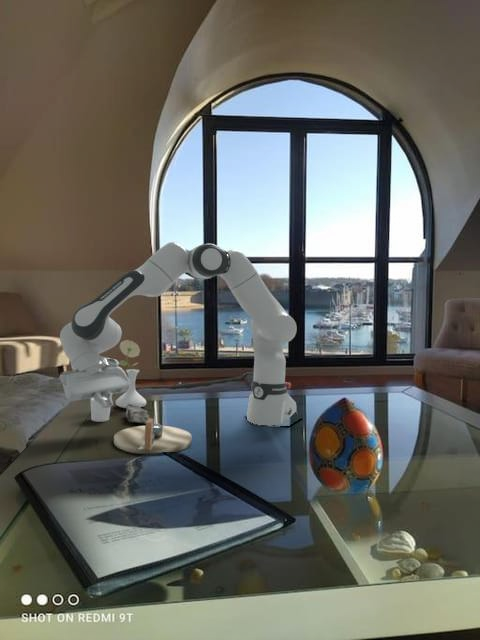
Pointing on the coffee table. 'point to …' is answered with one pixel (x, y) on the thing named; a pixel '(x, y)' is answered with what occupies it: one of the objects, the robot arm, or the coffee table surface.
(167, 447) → the stand
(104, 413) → the white cylinder
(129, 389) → the flower in vase
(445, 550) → the coffee table surface
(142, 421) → the mineral rock
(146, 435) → the grey pivot bar
